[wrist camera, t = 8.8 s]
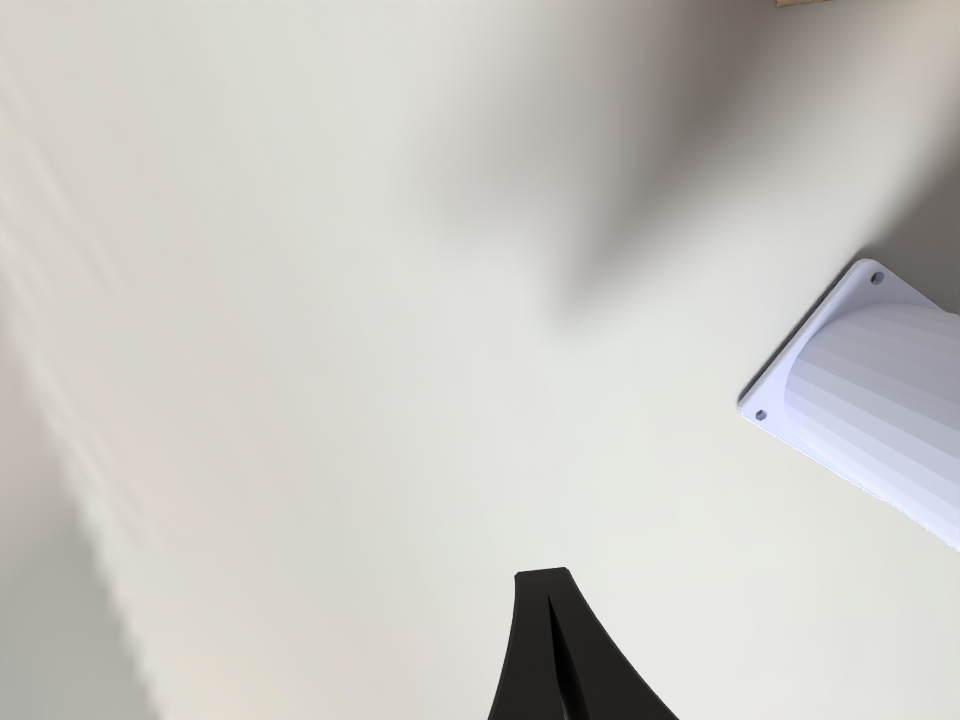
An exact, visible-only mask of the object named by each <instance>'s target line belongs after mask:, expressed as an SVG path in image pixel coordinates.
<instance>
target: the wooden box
mask: <svg viewBox="0 0 960 720" xmlns="http://www.w3.org/2000/svg"><path fill="white" fill-rule="evenodd" d="M821 1H829V0H777V6H785V5H794V4H803V3H812V2H821ZM777 6H776V7H777Z"/></svg>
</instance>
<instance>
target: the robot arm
mask: <svg viewBox="0 0 960 720" xmlns="http://www.w3.org/2000/svg"><path fill="white" fill-rule="evenodd" d="M875 273H876V278H875V279H874V281H873V282H871V278H872V276H873V275H874V274H875ZM737 410H738V413H739V414H740V415H741V416H742V417H744V418H745V419H747V420H748V421H750V422H752V423H753V424H755V425H756V426H758V427H760V428H761V429H763V430H765V431H766V432H768V433H770V434H771V435H773V436H775V437H776V438H778V439H780V440H781V441H783V442H785V443H786V444H788V445H790V446H791V447H793V448H795V449H796V450H798V451H799V452H801V453H803V454H804V455H806V456H808V457H809V458H811V459H813V460H814V461H816V462H818V463H819V464H821V465H823V466H824V467H826V468H828V469H829V470H831V471H833V472H834V473H836V474H838V475H839V476H841V477H842V478H844V479H846V480H847V481H849V482H851V483H852V484H854V485H856V486H857V487H859V488H861V489H862V490H864V491H866V492H867V493H869V494H871V495H872V496H874V497H876V498H877V499H880V500H885V501H887V502H888V503H889V504H891V505H892V506H894V507H895V508H897V509H898V510H899V511H901V512H902V513H904V514H905V515H906V516H908V517H909V518H911V519H912V520H914V521H915V522H916V523H918V524H919V525H921V526H922V527H924V528H925V529H926V530H928V531H929V532H931V533H932V534H934V535H935V536H936V537H938V538H939V539H941V540H942V541H943V542H945V543H946V544H948V545H949V546H951V547H952V548H953V549H955V550H956V551H958V552H959V553H960V315H957V314H952V313H948V312H945V311H944V310H942V309H941V308H940V307H938V306H937V305H936V304H934V303H933V302H932V301H930V300H929V299H928V298H926V297H925V296H924V295H922V294H921V293H919V292H918V291H917V290H915V289H914V288H913V287H911V286H910V285H909V284H907V283H906V282H905V281H903V280H902V279H901V278H899V277H898V276H897V275H895V274H894V273H893V272H891V271H890V270H889V269H887V268H886V267H884V266H883V265H882V264H880V263H879V262H878V261H876V260H873V259H861V260H858V261H857V262H856V263H854V264H853V265H852V267H851V268H850V269H849V270H848V272H847V273H846V274H845V275H844V276H843V278H842V279H841V280H840V281H839V282H838V284H837V285H836V286H835V287H834V288H833V290H832V291H831V292H830V293H829V294H828V296H827V297H826V298H825V299H824V301H823V302H822V303H821V304H820V305H819V307H818V308H817V309H816V310H815V311H814V313H813V314H812V315H811V316H810V317H809V319H808V320H807V321H806V322H805V324H804V325H803V326H802V327H801V328H800V330H799V331H798V332H797V333H796V334H795V336H794V337H793V338H792V339H791V340H790V342H789V343H788V344H787V345H786V347H785V348H784V349H783V350H782V351H781V353H780V354H779V355H778V356H777V357H776V359H775V360H774V361H773V362H772V363H771V365H770V366H769V367H768V368H767V370H766V371H765V372H764V373H763V374H762V376H761V377H760V378H759V379H758V380H757V382H756V383H755V384H754V385H753V386H752V388H751V389H750V390H749V391H748V393H747V394H746V395H745V396H744V397H743V399H742V400H741V401H740V402H739V404H738V408H737ZM759 410H762V412H761V414H760V415H759V416H755V415H756V413H757V412H758V411H759ZM514 577H515V601H514V611H513V619H512V625H511V630H510V636H509V641H508V647H507V651H506V655H505V660H504V664H503V668H502V672H501V676H500V680H499V684H498V687H497V691H496V694H495V698H494V701H493V704H492V707H491V710H490V713H489V717H488V720H565V718H566V720H679V719H678V718H677V717H676V716H675V715H674V714H673V712H672V711H671V710H670V709H669V708H668V707H667V706H666V705H665V704H664V703H663V702H662V700H661V699H660V698H659V697H658V696H657V695H656V694H655V693H654V691H653V690H652V689H651V688H650V687H649V686H648V684H647V683H646V682H645V681H644V680H643V679H642V677H641V676H640V675H639V674H638V673H637V671H636V670H635V669H634V668H633V666H632V665H631V664H630V662H629V661H628V660H627V659H626V657H625V656H624V655H623V654H622V652H621V651H620V650H619V648H618V647H617V646H616V644H615V643H614V642H613V640H612V639H611V637H610V636H609V635H608V633H607V632H606V630H605V629H604V627H603V626H602V625H601V623H600V622H599V620H598V619H597V617H596V616H595V614H594V613H593V611H592V610H591V608H590V607H589V605H588V603H587V602H586V600H585V599H584V597H583V595H582V594H581V592H580V590H579V588H578V587H577V585H576V583H575V581H574V579H573V577H572V575H571V573H570V571H569V570H568V569H567V568H565V567H560V568H551V569H542V570H532V571H523V572H518V573H517V574H516V575H515V576H514Z"/></svg>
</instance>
